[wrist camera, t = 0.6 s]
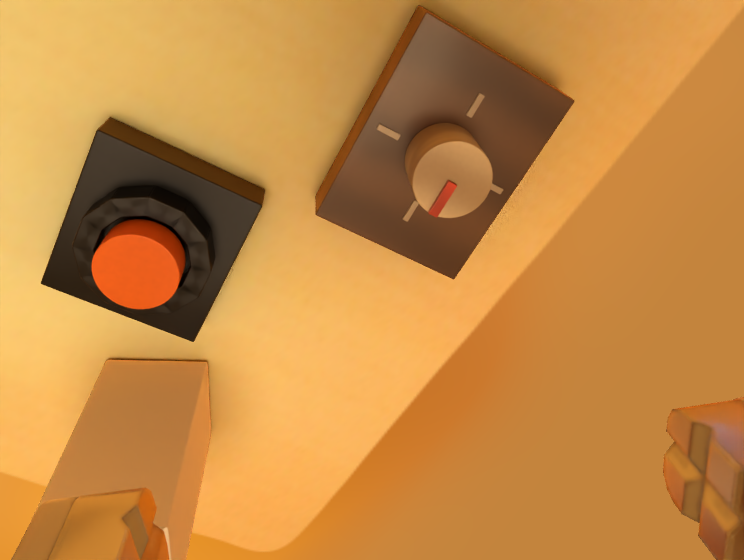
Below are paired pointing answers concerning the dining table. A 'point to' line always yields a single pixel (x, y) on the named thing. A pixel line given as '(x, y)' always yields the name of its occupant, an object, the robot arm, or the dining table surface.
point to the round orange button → (139, 264)
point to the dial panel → (428, 107)
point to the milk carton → (142, 441)
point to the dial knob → (447, 170)
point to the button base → (159, 204)
